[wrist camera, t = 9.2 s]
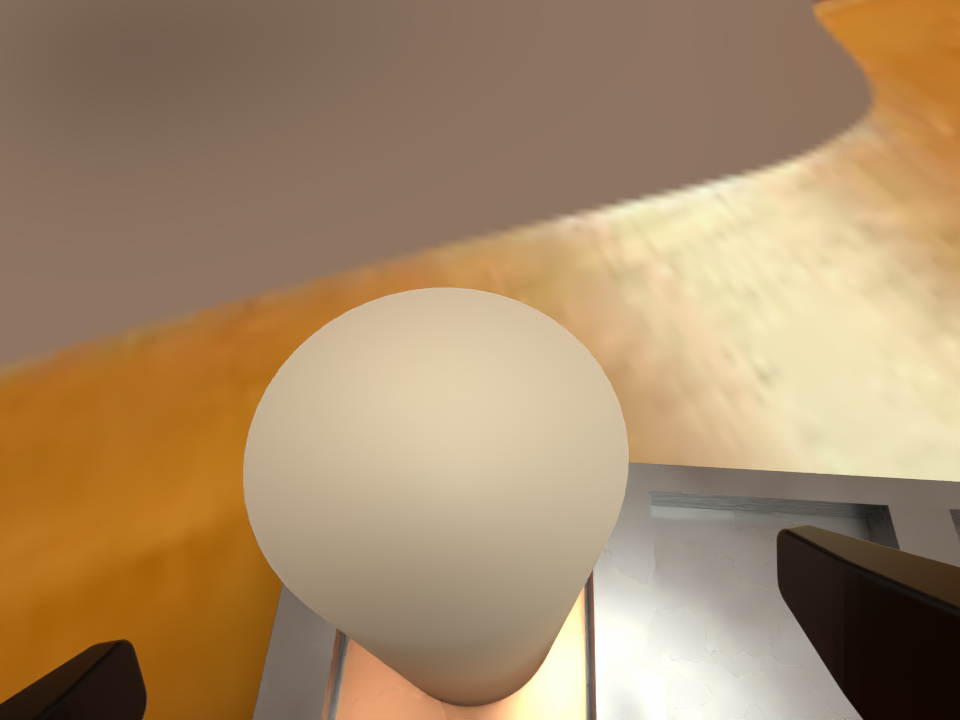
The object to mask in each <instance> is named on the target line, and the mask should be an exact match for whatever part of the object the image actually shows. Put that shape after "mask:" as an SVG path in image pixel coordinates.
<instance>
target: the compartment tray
mask: <svg viewBox="0 0 960 720" xmlns="http://www.w3.org/2000/svg"><path fill="white" fill-rule="evenodd" d="M800 525H812V526H815V527H819V528H822V529H826V530H830V531H833V532H837V533H840V534H844V535H847V536H851V537H854V538H858V539H862V540H865V541H869V542H872V543H876V544H879V545H883V546H887V547H890V548H894V549H897V550H901V551H904V552H908V553H911V554H915V555H919V556H922V557H926V558H929V559H933V560H936V561H940V562H944V563H947V564H951V565H954V566H958V567H960V482H953V481H936V480H919V479H902V478H884V477H867V476H850V475H833V474H816V473H799V472H782V471H764V470H747V469H730V468H713V467H696V466H679V465H662V464H645V463H628V478H627V484H626V491H625V497H624V500H623V503H622V507H621V510H620V513H619V516H618V520H617V522H616V524H615V526H614V529H613V531H612V533H611V535H610V537H609V539H608V541H607V543H606V545H605V547H604V549H603V551H602V553H601V555H600V557H599V559H598V560H597V562H596V564H595V566H594V568H593V570H592V572H591V574H590V576H589V578H588V579H587V581H586V583H585V585H584V587H583V589H582V591H581V593H580V595H579V597H578V598H577V600H576V602H575V604H574V606H573V608H572V610H571V612H570V614H569V616H568V617H567V619H566V621H565V623H564V625H563V627H562V629H561V631H560V633H559V635H558V636H557V638H556V640H555V642H554V644H553V646H552V648H551V650H550V652H549V653H548V655H547V657H546V659H545V661H544V663H543V664H542V666H541V667H540V669H539V670H538V672H537V673H536V674H535V675H534V676H533V678H532V679H531V680H530V681H529V682H528V683H527V684H526V685H525V686H523V687H522V688H521V689H520V690H518V691H517V692H515V693H514V694H512V695H511V696H509V697H507V698H505V699H502V700H500V701H498V702H494V703H491V704H488V705H481V706H458V705H452V704H448V703H445V702H442V701H439V700H437V699H435V698H433V697H431V696H429V695H427V694H426V693H424V692H423V691H421V690H420V689H419V688H417V687H416V686H415V685H413V684H412V683H410V682H409V681H408V680H406V679H405V678H404V677H402V676H401V675H400V674H398V673H397V672H396V671H394V670H393V669H391V668H390V667H389V666H387V665H386V664H385V663H383V662H382V661H381V660H379V659H378V658H377V657H375V656H374V655H372V654H371V653H370V652H368V651H367V650H366V649H364V648H363V647H362V646H360V645H359V644H358V643H356V642H355V641H354V640H352V639H351V638H349V637H348V636H347V635H345V634H344V633H343V632H341V631H340V630H339V629H337V628H336V627H335V626H333V625H332V624H330V623H329V622H328V621H326V620H325V619H324V618H322V617H321V616H320V615H318V614H317V613H316V612H314V611H313V610H311V609H310V608H309V607H307V606H306V605H305V604H304V603H303V602H302V601H301V600H300V599H299V598H298V597H297V596H295V595H294V594H293V593H292V592H291V591H290V590H289V589H288V588H287V587H286V586H285V584H284V583H283V585H282V589H281V594H280V598H279V603H278V607H277V612H276V616H275V621H274V625H273V630H272V634H271V639H270V643H269V648H268V652H267V657H266V661H265V666H264V670H263V674H262V679H261V683H260V688H259V692H258V697H257V701H256V706H255V710H254V715H253V719H252V720H863V719H862V718H861V716H860V715H859V714H858V713H857V711H856V710H855V709H854V707H853V706H852V705H851V703H850V702H849V700H848V699H847V698H846V696H845V695H844V694H843V692H842V691H841V689H840V688H839V686H838V685H837V683H836V682H835V680H834V679H833V677H832V676H831V674H830V673H829V671H828V670H827V668H826V666H825V665H824V663H823V662H822V660H821V658H820V657H819V655H818V654H817V652H816V651H815V649H814V647H813V646H812V644H811V643H810V641H809V639H808V638H807V636H806V635H805V633H804V632H803V630H802V628H801V627H800V625H799V624H798V622H797V621H796V619H795V617H794V616H793V614H792V613H791V611H790V609H789V608H788V606H787V605H786V603H785V602H784V600H783V598H782V596H781V594H780V591H779V588H778V582H777V549H776V540H777V535H778V532H779V531H780V530H781V529H783V528H788V527H794V526H800Z"/></svg>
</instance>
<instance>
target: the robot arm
mask: <svg viewBox="0 0 960 720" xmlns="http://www.w3.org/2000/svg"><path fill="white" fill-rule="evenodd" d="M776 549H777V582H778V588H779V591H780V594H781V596H782V598H783V600H784V602H785V603H786V605H787V606H788V608H789V609H790V611H791V613H792V614H793V616H794V617H795V619H796V621H797V622H798V624H799V625H800V627H801V628H802V630H803V632H804V633H805V635H806V636H807V638H808V639H809V641H810V643H811V644H812V646H813V647H814V649H815V651H816V652H817V654H818V655H819V657H820V658H821V660H822V662H823V663H824V665H825V666H826V668H827V670H828V671H829V673H830V674H831V676H832V677H833V679H834V680H835V682H836V683H837V685H838V686H839V688H840V689H841V691H842V692H843V694H844V695H845V696H846V698H847V699H848V700H849V702H850V703H851V705H852V706H853V707H854V709H855V710H856V711H857V713H858V714H859V715H860V716H861V718H862V719H863V720H960V567H958V566H954V565H951V564H947V563H944V562H940V561H936V560H933V559H929V558H926V557H922V556H919V555H915V554H911V553H908V552H904V551H901V550H897V549H894V548H890V547H887V546H883V545H879V544H876V543H872V542H869V541H865V540H862V539H858V538H854V537H851V536H847V535H844V534H840V533H837V532H833V531H830V530H826V529H822V528H819V527H815V526H812V525H800V526H794V527H788V528H783V529H781V530H780V531H779V532H778V535H777V540H776ZM146 706H147V692H146V688H145V684H144V681H143V677H142V674H141V670H140V666H139V663H138V659H137V656H136V652H135V649H134V647H133V645H132V644H131V642H129V641H127V640H125V639H123V640H115V641H109V642H103V643H98V644H95V645H93V646H91V647H89V648H88V649H86V650H85V651H83V652H82V653H80V654H78V655H77V656H75V657H74V658H72V659H70V660H69V661H67V662H66V663H64V664H63V665H61V666H59V667H58V668H56V669H55V670H53V671H52V672H50V673H48V674H47V675H45V676H44V677H42V678H41V679H39V680H37V681H36V682H34V683H33V684H31V685H29V686H28V687H26V688H25V689H23V690H22V691H20V692H18V693H17V694H15V695H14V696H12V697H11V698H9V699H7V700H6V701H4V702H3V703H1V704H0V720H143V718H144V715H145V711H146Z"/></svg>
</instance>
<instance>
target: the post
mask: <svg viewBox="0 0 960 720" xmlns="http://www.w3.org/2000/svg"><path fill="white" fill-rule="evenodd" d="M628 460H629V448H628V440H627V432H626V425H625V422H624V418H623V414H622V411H621V407H620V404H619V401H618V399H617V397H616V394H615V392H614V390H613V387H612V385H611V383H610V381H609V380H608V378H607V376H606V375H605V373H604V371H603V370H602V368H601V366H600V365H599V363H598V362H597V361H596V360H595V358H594V357H593V356H592V355H591V353H590V352H589V351H588V350H587V348H586V347H585V346H584V345H583V344H582V343H581V342H580V341H579V340H578V339H577V338H576V337H575V336H574V335H573V334H572V333H570V332H569V331H568V330H567V329H565V328H564V327H563V326H561V325H560V324H559V323H557V322H556V321H555V320H553V319H552V318H550V317H548V316H547V315H545V314H543V313H541V312H540V311H538V310H536V309H534V308H532V307H530V306H528V305H525V304H523V303H521V302H519V301H516V300H514V299H510V298H507V297H504V296H501V295H498V294H494V293H489V292H484V291H479V290H474V289H463V288H426V289H417V290H409V291H405V292H401V293H396V294H392V295H388V296H385V297H382V298H379V299H376V300H373V301H370V302H367V303H365V304H363V305H360V306H358V307H356V308H354V309H352V310H349V311H347V312H346V313H344V314H342V315H341V316H339V317H337V318H336V319H334V320H332V321H330V322H329V323H327V324H326V325H325V326H323V327H322V328H321V329H319V330H318V331H317V332H315V333H314V334H313V335H311V336H310V337H309V338H308V339H307V340H306V341H305V342H304V343H303V344H302V345H301V346H299V347H298V348H297V349H296V350H295V351H294V352H293V354H292V355H291V356H290V357H289V358H288V359H287V361H286V362H285V363H284V364H283V365H282V366H281V368H280V369H279V370H278V372H277V373H276V375H275V376H274V378H273V379H272V381H271V382H270V384H269V385H268V387H267V389H266V391H265V393H264V395H263V397H262V399H261V401H260V403H259V405H258V407H257V409H256V412H255V415H254V418H253V420H252V423H251V426H250V429H249V434H248V438H247V443H246V448H245V454H244V468H243V483H244V497H245V503H246V508H247V512H248V517H249V521H250V524H251V527H252V530H253V532H254V535H255V537H256V540H257V543H258V545H259V547H260V549H261V551H262V552H263V554H264V556H265V558H266V559H267V561H268V563H269V565H270V566H271V568H272V569H273V571H274V572H275V573H276V574H277V576H278V577H279V578H280V579H281V581H282V582H283V583H284V584H285V586H286V587H287V588H288V589H289V590H290V591H291V592H292V593H293V594H294V595H295V596H297V597H298V598H299V599H300V600H301V601H302V602H303V603H304V604H305V605H306V606H307V607H309V608H310V609H311V610H313V611H314V612H316V613H317V614H318V615H320V616H321V617H322V618H324V619H325V620H326V621H328V622H329V623H330V624H332V625H333V626H335V627H336V628H337V629H339V630H340V631H341V632H343V633H344V634H345V635H347V636H348V637H349V638H351V639H352V640H354V641H355V642H356V643H358V644H359V645H360V646H362V647H363V648H364V649H366V650H367V651H368V652H370V653H371V654H372V655H374V656H375V657H377V658H378V659H379V660H381V661H382V662H383V663H385V664H386V665H387V666H389V667H390V668H391V669H393V670H394V671H396V672H397V673H398V674H400V675H401V676H402V677H404V678H405V679H406V680H408V681H409V682H410V683H412V684H413V685H415V686H416V687H417V688H419V689H420V690H421V691H423V692H424V693H426V694H427V695H429V696H431V697H433V698H435V699H437V700H439V701H442V702H445V703H448V704H452V705H458V706H481V705H488V704H491V703H494V702H498V701H500V700H502V699H505V698H507V697H509V696H511V695H512V694H514V693H515V692H517V691H518V690H520V689H521V688H522V687H523V686H525V685H526V684H527V683H528V682H529V681H530V680H531V679H532V678H533V676H534V675H535V674H536V673H537V672H538V670H539V669H540V667H541V666H542V664H543V663H544V661H545V659H546V657H547V655H548V653H549V652H550V650H551V648H552V646H553V644H554V642H555V640H556V638H557V636H558V635H559V633H560V631H561V629H562V627H563V625H564V623H565V621H566V619H567V617H568V616H569V614H570V612H571V610H572V608H573V606H574V604H575V602H576V600H577V598H578V597H579V595H580V593H581V591H582V589H583V587H584V585H585V583H586V581H587V579H588V578H589V576H590V574H591V572H592V570H593V568H594V566H595V564H596V562H597V560H598V559H599V557H600V555H601V553H602V551H603V549H604V547H605V545H606V543H607V541H608V539H609V537H610V535H611V533H612V531H613V529H614V526H615V524H616V522H617V520H618V516H619V513H620V510H621V507H622V503H623V500H624V497H625V491H626V484H627V478H628Z"/></svg>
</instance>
